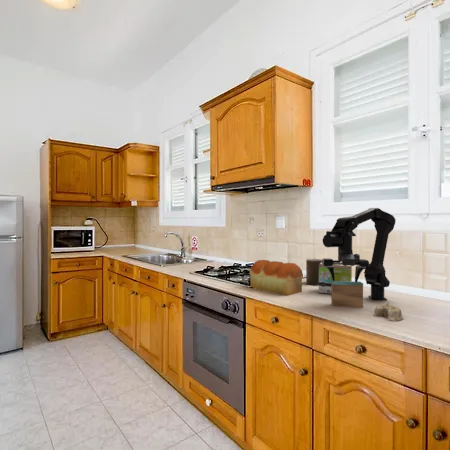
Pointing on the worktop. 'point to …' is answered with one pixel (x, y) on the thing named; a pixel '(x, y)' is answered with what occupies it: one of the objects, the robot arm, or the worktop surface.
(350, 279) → the tea box
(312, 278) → the pillar candle
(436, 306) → the worktop surface
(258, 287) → the bread
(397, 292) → the worktop surface
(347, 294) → the slab
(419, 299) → the worktop surface
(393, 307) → the cake
